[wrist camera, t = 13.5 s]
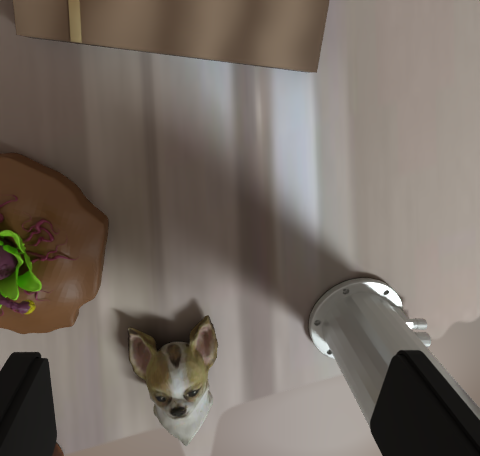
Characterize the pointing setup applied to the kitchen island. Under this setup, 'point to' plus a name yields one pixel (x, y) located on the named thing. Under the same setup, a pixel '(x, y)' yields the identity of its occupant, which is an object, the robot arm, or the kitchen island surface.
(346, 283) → the robot arm
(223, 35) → the slider console
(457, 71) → the kitchen island surface
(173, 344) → the ceramic sculpture
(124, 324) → the kitchen island surface
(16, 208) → the plant
